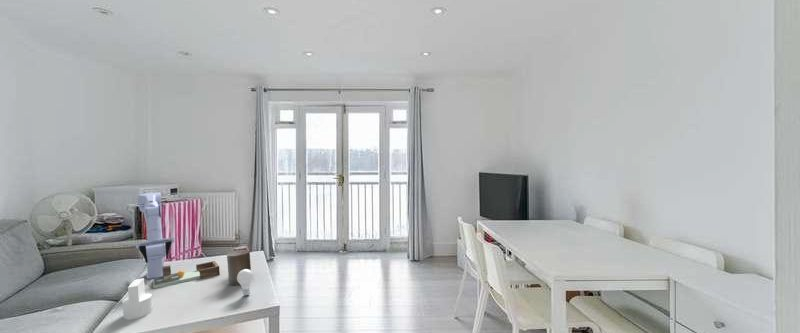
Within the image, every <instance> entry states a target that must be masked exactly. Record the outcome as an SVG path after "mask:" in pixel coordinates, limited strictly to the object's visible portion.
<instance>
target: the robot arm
mask: <svg viewBox="0 0 800 333" xmlns="http://www.w3.org/2000/svg"><path fill="white" fill-rule="evenodd" d="M137 202H138V203H137V205H138V210H139V212H142V213H143V216H144V221H145V225H146V240H144V241H143V242H135V249H138V250H139V252H140V253H141V254H142V259H144V261H145V264H146V271H147V272H146V273H145V275H146V279H147V280H148V279H149V280H150V279H154V278H155V277H160V276H163V269H162V267H163V266H165V259H166V260H168V259H169V252H170V249H171V247H172V243H175V237H168V238H167V237H166V238H163V230H162V229H163V228H162V220H161V218H162V209H161V208H162V194H161V192H160V191H158V192H148V193H138V194H137Z"/></svg>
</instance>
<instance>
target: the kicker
mask: <svg viewBox="0 0 800 333" xmlns="http://www.w3.org/2000/svg"><path fill="white" fill-rule="evenodd" d="M162 269H163V280H165V279H170V278H171V274H172V272H171V271H172V270H171V264H169V265H164V266H163V267H162Z"/></svg>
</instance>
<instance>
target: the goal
mask: <svg viewBox="0 0 800 333" xmlns="http://www.w3.org/2000/svg"><path fill="white" fill-rule="evenodd" d="M195 266H196V270H195V271H198V270H199V272H200V278H199V279H206V278H209V277H215V276H219V275H220V265H218V263H217V262H216V261H215V260H213V261H208V262H203V263H198V264H195ZM214 275H215V276H214Z"/></svg>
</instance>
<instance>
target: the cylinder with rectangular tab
mask: <svg viewBox="0 0 800 333" xmlns="http://www.w3.org/2000/svg"><path fill="white" fill-rule="evenodd" d="M145 285H146V284H145V278H137V279H134V280H133V281H132V282H131V283H130V284H129V286H128V287H127V293H128V295H127V296H128V297H126V298H125V299H123V300H122V302H121V303H122V315H123V319H124V320H136V319H139V318H140V319H141V318H143V317H146V316H148V315H150V314H151V313H153V312H154V304H153V294H152V293H146V289H145V288H146V287H145Z"/></svg>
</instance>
